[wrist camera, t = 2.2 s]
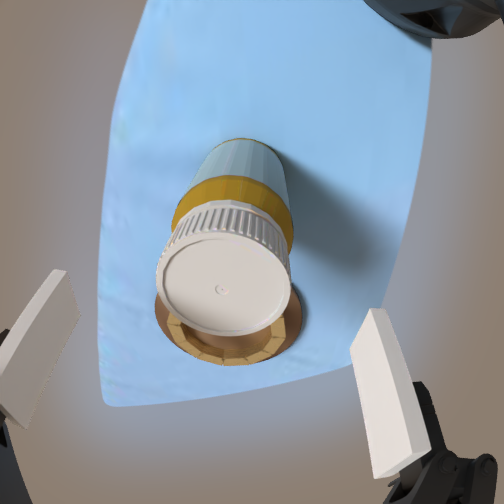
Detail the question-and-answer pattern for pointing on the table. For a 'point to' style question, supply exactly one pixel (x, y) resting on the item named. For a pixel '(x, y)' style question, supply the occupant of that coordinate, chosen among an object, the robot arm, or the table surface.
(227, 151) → the bottle
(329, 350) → the table surface
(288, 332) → the ring tray
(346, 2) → the table surface
